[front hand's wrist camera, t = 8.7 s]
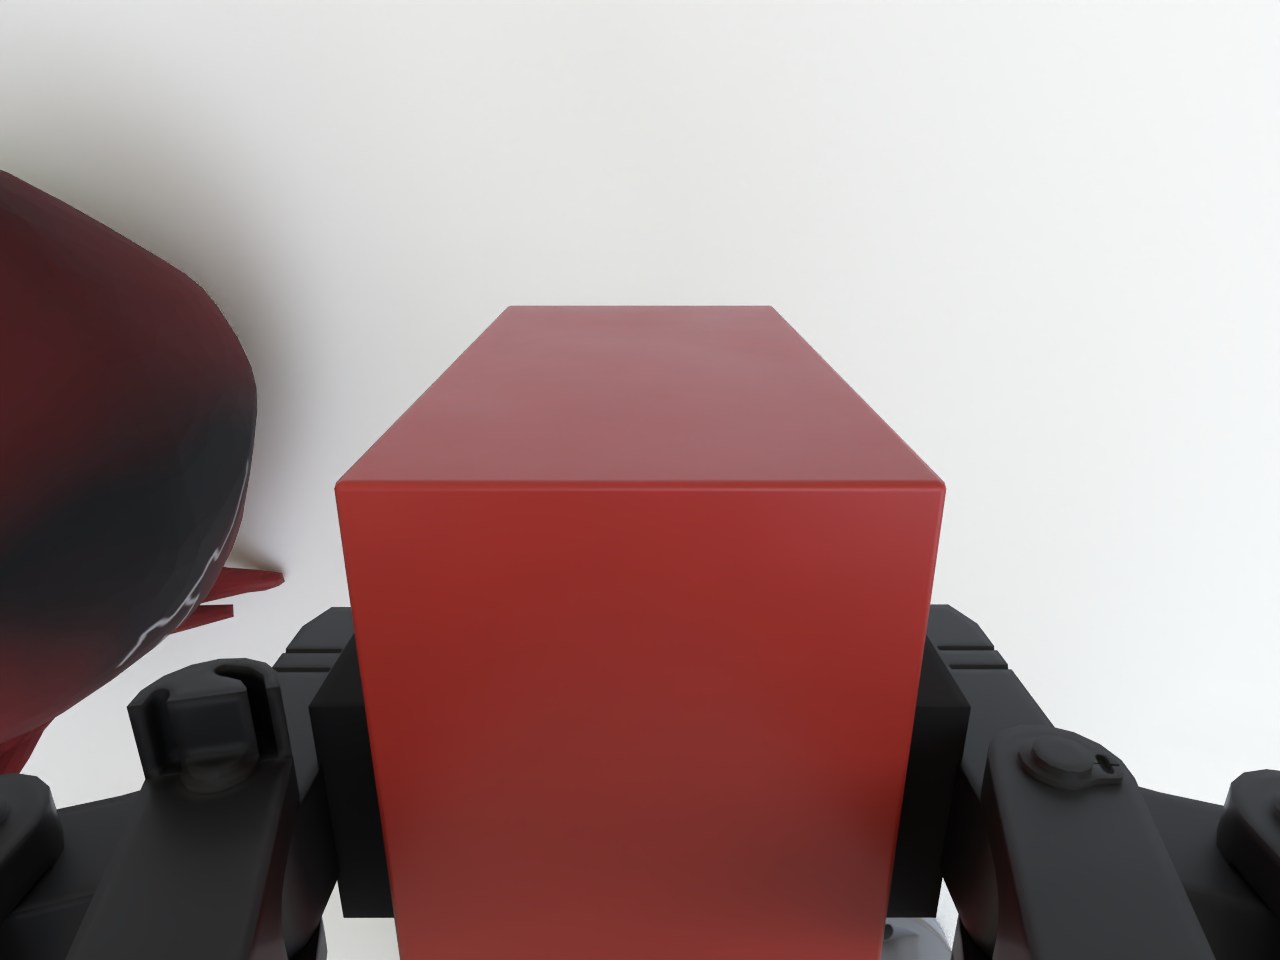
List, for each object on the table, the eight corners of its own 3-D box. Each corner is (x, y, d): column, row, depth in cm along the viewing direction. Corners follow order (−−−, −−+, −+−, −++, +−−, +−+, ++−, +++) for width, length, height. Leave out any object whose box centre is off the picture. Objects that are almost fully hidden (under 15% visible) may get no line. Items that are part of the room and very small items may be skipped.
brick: (773, 305, 15) (950, 483, 6) (753, 660, 18) (860, 1123, 9) (507, 305, 15) (329, 482, 6) (526, 660, 18) (419, 1123, 9)
